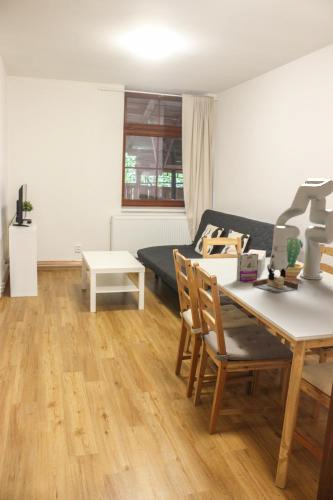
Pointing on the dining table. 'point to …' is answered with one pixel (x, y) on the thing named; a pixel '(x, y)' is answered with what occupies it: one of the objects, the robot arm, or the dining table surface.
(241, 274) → the candy bar box
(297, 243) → the potted cactus
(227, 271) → the dining table surface
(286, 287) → the corner arena
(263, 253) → the stack of papers
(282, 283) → the maple block
